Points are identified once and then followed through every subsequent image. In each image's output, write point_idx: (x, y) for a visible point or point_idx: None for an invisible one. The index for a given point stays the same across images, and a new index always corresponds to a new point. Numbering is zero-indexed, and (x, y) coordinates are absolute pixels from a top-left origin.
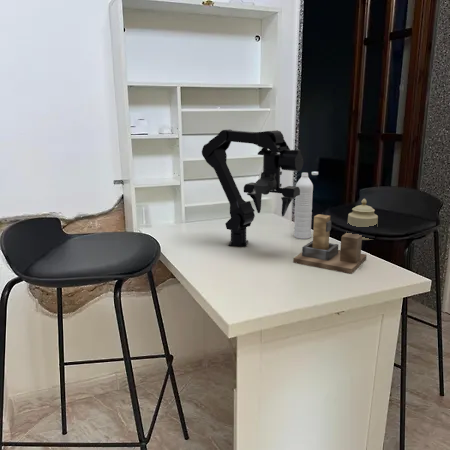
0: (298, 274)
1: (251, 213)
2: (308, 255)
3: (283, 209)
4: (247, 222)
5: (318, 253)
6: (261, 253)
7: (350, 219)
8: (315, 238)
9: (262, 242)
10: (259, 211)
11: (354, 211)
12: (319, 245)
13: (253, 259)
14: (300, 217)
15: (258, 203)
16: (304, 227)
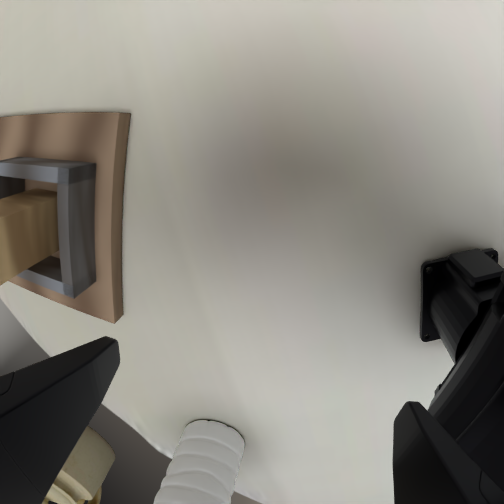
0: (91, 9)
1: (458, 427)
2: (68, 161)
3: (46, 368)
4: (467, 349)
5: (27, 162)
6: (318, 184)
7: (74, 469)
8: (5, 212)
9: (354, 353)
10: (402, 422)
11: (62, 486)
12: (14, 200)
13: (326, 73)
14: (190, 489)
15: (433, 496)
16: (185, 453)
